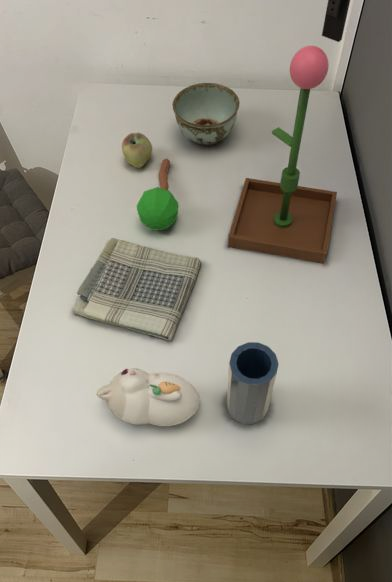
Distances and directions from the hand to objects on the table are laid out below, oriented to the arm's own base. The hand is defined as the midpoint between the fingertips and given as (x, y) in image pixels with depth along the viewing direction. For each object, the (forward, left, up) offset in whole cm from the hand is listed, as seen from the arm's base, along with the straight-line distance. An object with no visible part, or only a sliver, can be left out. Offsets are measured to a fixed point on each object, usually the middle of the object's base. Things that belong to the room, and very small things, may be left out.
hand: (356, 16), depth 71 cm
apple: (+37, 0, -32) cm, 49 cm away
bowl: (+25, -10, -32) cm, 42 cm away
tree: (+29, +10, -32) cm, 44 cm away
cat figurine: (+18, +53, -32) cm, 64 cm away
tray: (+5, +11, -32) cm, 34 cm away
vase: (+4, +49, -32) cm, 58 cm away
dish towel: (+27, +32, -32) cm, 53 cm away
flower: (+6, +10, -31) cm, 33 cm away
